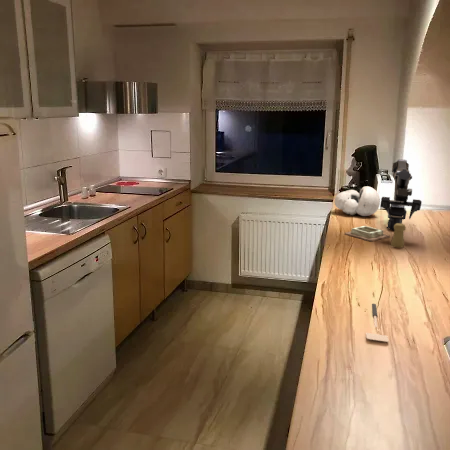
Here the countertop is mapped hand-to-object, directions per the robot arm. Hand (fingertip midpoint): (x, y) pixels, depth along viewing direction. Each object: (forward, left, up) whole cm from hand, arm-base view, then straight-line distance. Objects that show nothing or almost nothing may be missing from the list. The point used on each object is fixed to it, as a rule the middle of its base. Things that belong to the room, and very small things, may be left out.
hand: (399, 217), depth 244 cm
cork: (+3, +5, -13) cm, 14 cm away
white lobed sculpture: (-12, -59, -13) cm, 61 cm away
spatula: (+61, +79, -13) cm, 101 cm away
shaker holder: (+8, -14, -12) cm, 20 cm away
